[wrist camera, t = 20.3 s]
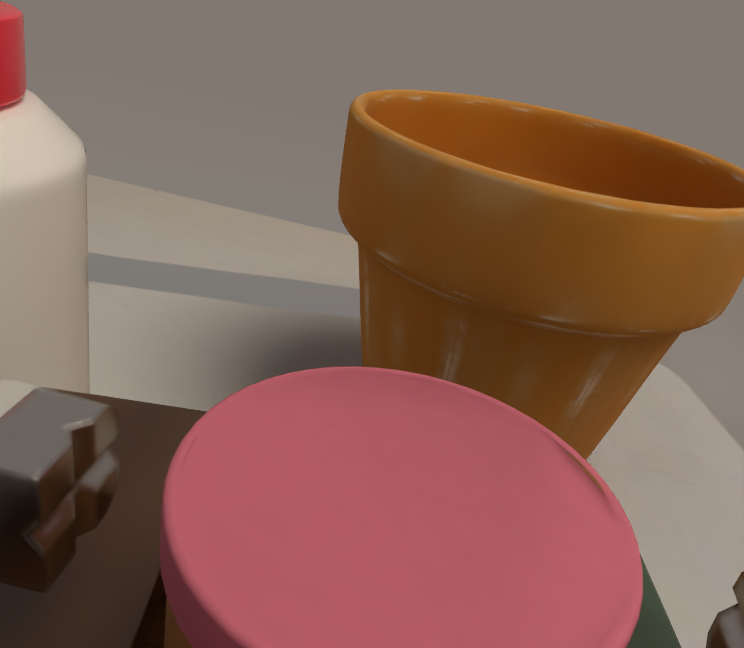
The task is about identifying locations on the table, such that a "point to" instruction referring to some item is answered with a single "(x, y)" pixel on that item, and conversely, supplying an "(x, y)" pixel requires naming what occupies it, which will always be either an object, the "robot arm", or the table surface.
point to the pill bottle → (40, 231)
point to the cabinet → (108, 548)
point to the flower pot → (533, 249)
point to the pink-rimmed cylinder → (389, 523)
